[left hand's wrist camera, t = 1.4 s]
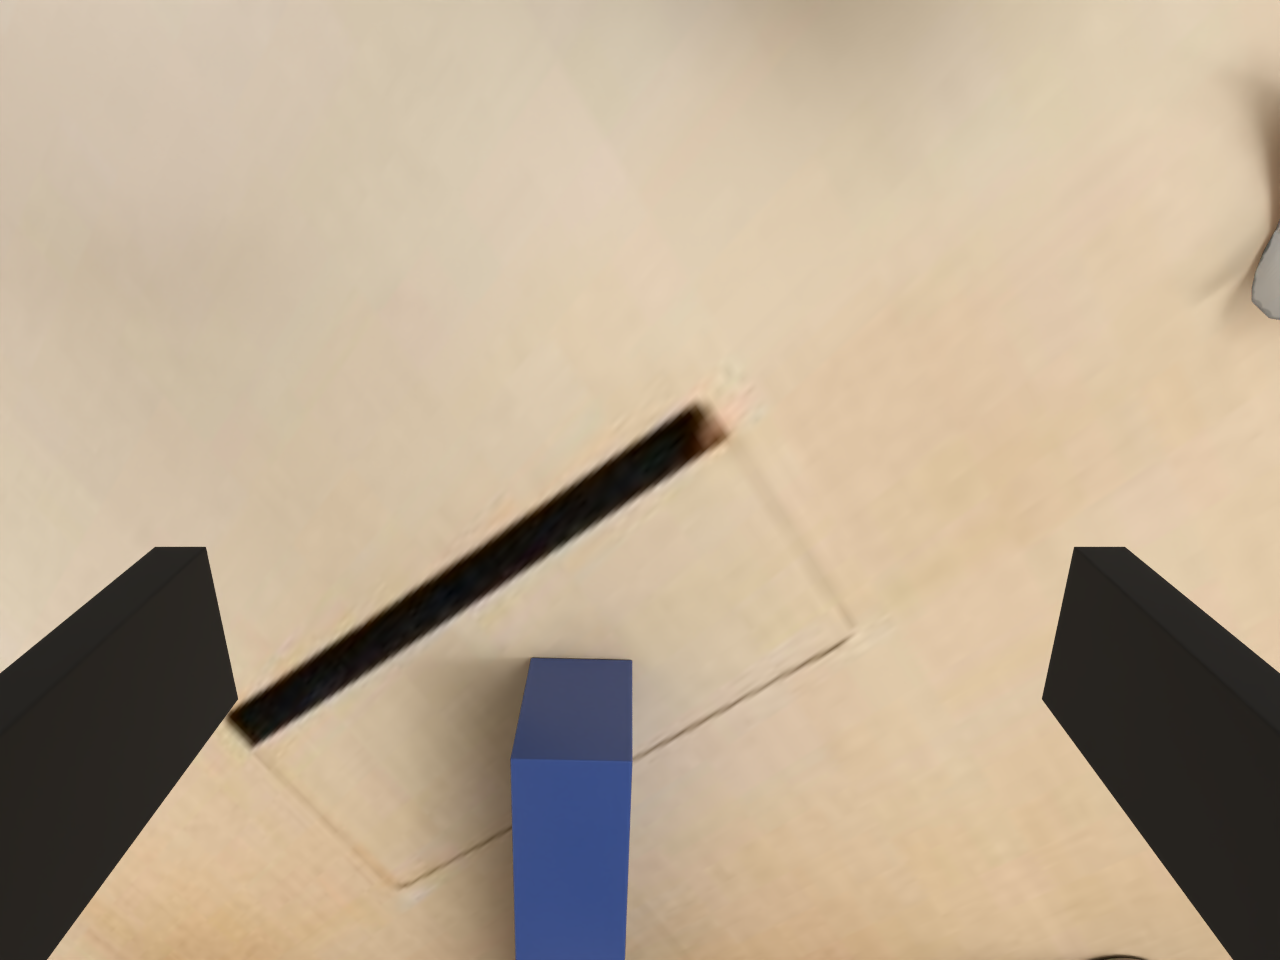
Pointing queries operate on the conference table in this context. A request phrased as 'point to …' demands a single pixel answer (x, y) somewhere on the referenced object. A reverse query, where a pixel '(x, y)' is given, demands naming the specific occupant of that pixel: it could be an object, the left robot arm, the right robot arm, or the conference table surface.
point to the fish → (1268, 279)
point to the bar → (572, 810)
